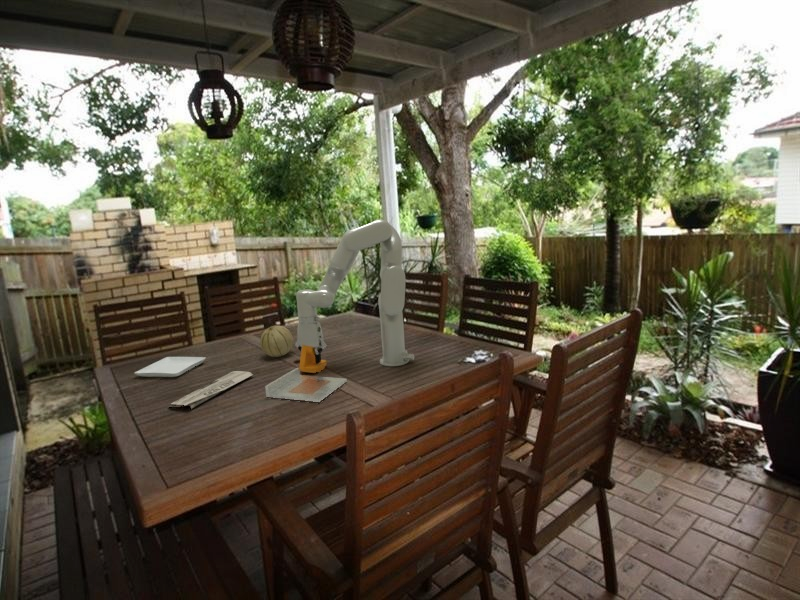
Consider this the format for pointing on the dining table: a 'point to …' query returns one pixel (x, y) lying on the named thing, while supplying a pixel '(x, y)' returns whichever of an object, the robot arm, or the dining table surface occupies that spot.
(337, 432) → the dining table surface
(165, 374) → the salad plate
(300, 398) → the plate
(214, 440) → the dining table surface
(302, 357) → the bracket
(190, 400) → the newspaper
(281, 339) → the cantaloupe
